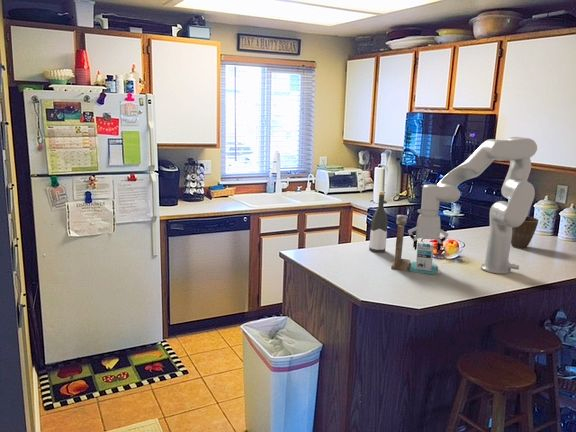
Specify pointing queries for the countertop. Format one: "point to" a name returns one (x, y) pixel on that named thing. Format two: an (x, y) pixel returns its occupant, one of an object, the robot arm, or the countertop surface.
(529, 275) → the countertop surface
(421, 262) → the light bulb box
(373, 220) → the wine bottle
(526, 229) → the plant pot
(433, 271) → the mat
